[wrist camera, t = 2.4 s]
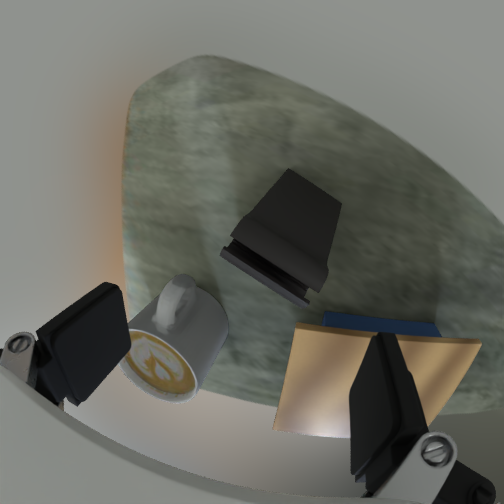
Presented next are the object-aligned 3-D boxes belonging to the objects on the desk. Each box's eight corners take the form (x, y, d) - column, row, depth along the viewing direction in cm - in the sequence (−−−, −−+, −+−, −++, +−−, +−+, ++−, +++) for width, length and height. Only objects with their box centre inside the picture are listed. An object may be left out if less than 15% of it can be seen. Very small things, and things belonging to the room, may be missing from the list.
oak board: (478, 338, 19) (482, 343, 18) (418, 431, 25) (419, 437, 24) (296, 321, 23) (295, 328, 22) (273, 423, 28) (272, 429, 27)
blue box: (434, 323, 26) (451, 353, 20) (399, 392, 30) (406, 424, 24) (324, 310, 29) (325, 344, 23) (305, 384, 33) (300, 419, 27)
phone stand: (289, 167, 25) (267, 172, 14) (341, 203, 25) (362, 237, 14) (241, 242, 28) (193, 297, 17) (290, 274, 28) (271, 347, 17)
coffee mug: (212, 361, 35) (183, 415, 25) (150, 324, 35) (109, 368, 26) (255, 288, 29) (227, 344, 20) (177, 244, 30) (123, 280, 21)
